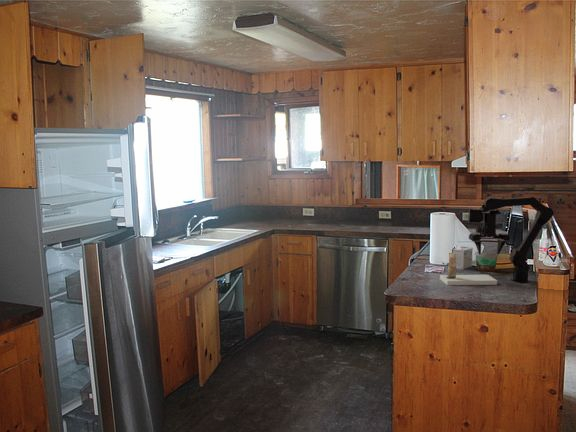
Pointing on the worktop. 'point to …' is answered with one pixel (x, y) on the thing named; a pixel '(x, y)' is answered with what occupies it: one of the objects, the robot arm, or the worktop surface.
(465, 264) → the light bulb box
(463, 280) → the board
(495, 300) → the worktop surface
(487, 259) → the food container
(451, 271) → the peg
